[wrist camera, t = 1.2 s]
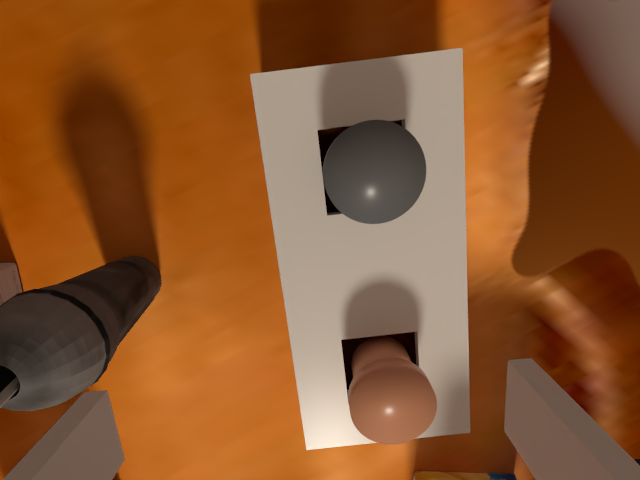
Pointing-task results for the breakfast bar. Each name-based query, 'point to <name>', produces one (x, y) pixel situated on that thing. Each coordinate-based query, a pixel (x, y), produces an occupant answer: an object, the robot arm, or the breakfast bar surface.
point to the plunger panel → (369, 233)
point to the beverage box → (461, 476)
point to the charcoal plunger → (374, 171)
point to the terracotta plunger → (389, 393)
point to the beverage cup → (69, 332)
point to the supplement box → (9, 281)
